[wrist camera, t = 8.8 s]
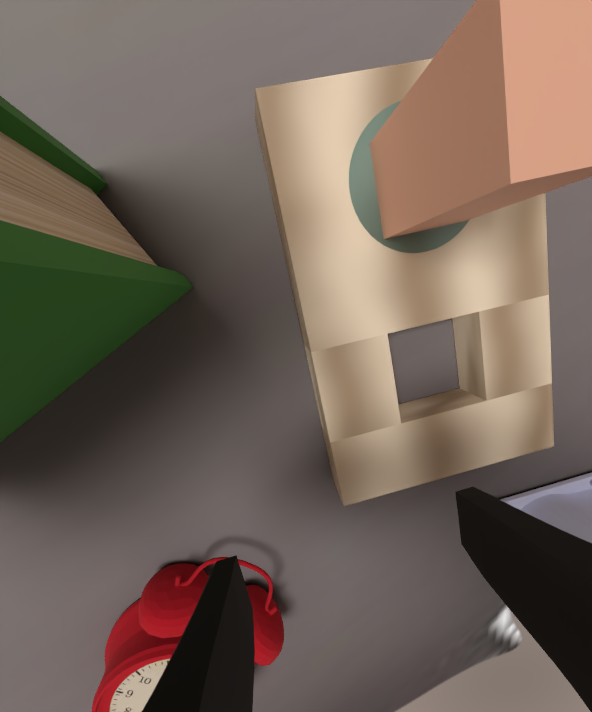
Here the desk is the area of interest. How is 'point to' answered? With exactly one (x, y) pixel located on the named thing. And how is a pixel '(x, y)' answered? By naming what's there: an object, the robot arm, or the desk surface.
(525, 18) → the peg
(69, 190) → the hardback book
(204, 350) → the desk surface
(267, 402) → the desk surface
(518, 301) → the pocket board
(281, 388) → the desk surface
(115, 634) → the alarm clock
